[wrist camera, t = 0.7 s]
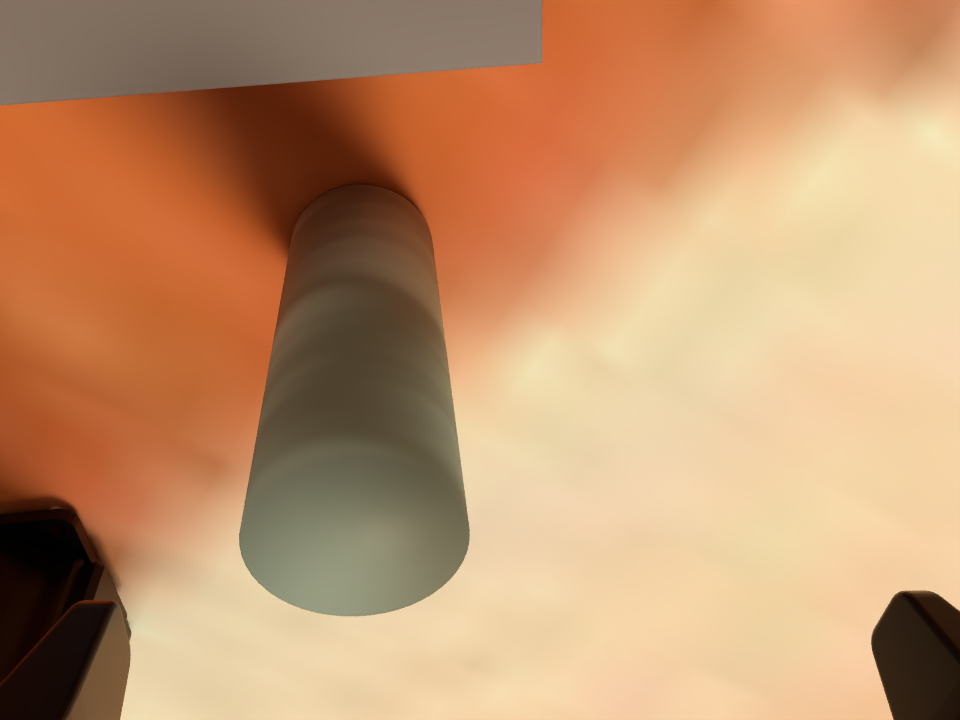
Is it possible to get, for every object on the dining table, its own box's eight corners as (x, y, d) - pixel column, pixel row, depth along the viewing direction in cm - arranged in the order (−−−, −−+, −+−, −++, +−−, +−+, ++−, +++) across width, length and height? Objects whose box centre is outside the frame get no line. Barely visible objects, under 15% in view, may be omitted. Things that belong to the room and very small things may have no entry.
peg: (303, 316, 22) (264, 627, 14) (279, 190, 20) (215, 471, 12) (438, 303, 22) (475, 602, 14) (427, 178, 20) (463, 444, 12)
